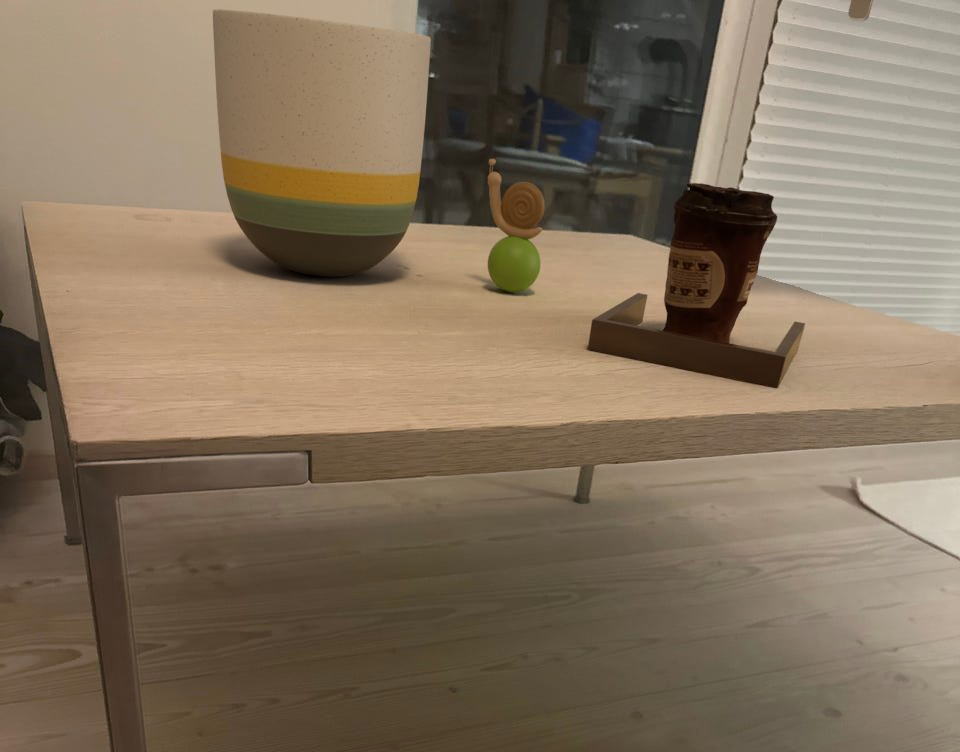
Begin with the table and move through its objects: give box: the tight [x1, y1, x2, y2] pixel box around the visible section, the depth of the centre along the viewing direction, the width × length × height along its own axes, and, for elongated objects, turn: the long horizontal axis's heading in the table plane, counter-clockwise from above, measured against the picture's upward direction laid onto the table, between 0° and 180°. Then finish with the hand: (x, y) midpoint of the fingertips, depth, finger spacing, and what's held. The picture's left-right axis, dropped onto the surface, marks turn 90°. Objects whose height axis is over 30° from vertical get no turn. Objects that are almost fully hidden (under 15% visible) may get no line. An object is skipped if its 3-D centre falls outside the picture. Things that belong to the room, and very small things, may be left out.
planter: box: [212, 8, 432, 278], centre depth 89 cm, size 20×20×21 cm
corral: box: [587, 292, 806, 389], centre depth 81 cm, size 16×16×2 cm
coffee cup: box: [662, 182, 778, 343], centre depth 80 cm, size 9×8×13 cm
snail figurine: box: [487, 158, 546, 293], centre depth 93 cm, size 5×6×12 cm
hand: (857, 19), depth 89 cm, fingers closed
